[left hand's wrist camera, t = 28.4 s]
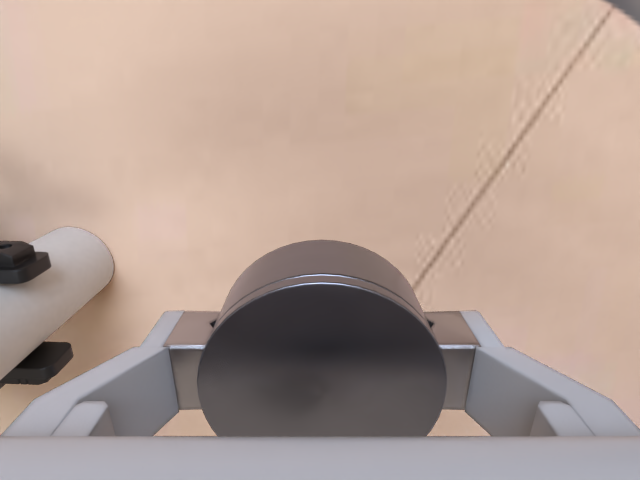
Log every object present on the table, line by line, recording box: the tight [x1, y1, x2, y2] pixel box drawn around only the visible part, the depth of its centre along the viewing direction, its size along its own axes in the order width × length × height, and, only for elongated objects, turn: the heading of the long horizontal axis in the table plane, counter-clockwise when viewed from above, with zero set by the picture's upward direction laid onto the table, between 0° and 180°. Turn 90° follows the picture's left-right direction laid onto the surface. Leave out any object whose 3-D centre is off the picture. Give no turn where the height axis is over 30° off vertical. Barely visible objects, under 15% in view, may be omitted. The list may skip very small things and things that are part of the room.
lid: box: [197, 240, 447, 436], centre depth 9 cm, size 5×5×2 cm
